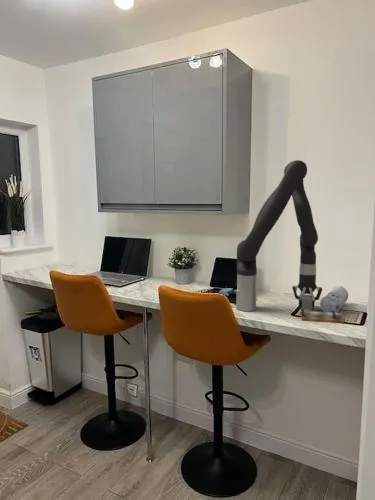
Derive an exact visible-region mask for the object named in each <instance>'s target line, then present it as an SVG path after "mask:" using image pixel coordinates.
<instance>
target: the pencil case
mask: <svg viewBox="0 0 375 500" xmlns="http://www.w3.org/2000/svg"><path fill="white" fill-rule="evenodd" d="M348 299H349V292H348V290H347V289H346V288H345V287H344V286H340V285H338V286H334V287H333V288H332V289H331V290H330V292H327V294H326V295H325V296H323V297H321V299H320V303H319V305H320V308H321V310H322V312H332V311H334V312H335V313H339V312H340V309H342V308H343V307H344V304H345V303H346V302H347V301H348Z"/></svg>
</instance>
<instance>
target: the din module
mask: <svg viewBox="0 0 375 500" xmlns="http://www.w3.org/2000/svg"><path fill="white" fill-rule="evenodd" d="M301 309H303V310H304V311H313V309H312V297H311V294H304V295H303V297H302V308H301Z"/></svg>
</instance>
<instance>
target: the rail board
mask: <svg viewBox="0 0 375 500" xmlns="http://www.w3.org/2000/svg"><path fill="white" fill-rule="evenodd" d="M300 318H301V321H303V322H305V321H306V322H319V323H320V322H321V323H336V324H344V323H345V321H344V319H343V318H344V316H343V313H342V312H337V313H335V312H334V311H332V312H324V311H313V310H312V311H304V310H303V309H302V308H300Z"/></svg>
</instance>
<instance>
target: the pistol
mask: <svg viewBox="0 0 375 500" xmlns="http://www.w3.org/2000/svg"><path fill="white" fill-rule="evenodd" d="M234 290H237V289H233V288H226V287H225V288H223V289H220V290H218V294H219V293H221V294H224V295H227V297H230V296H231V295H230V294H233V295H234V294H236V291H234ZM229 295H230V296H229Z"/></svg>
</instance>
